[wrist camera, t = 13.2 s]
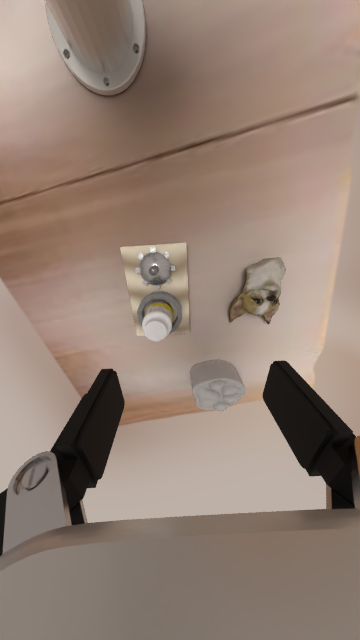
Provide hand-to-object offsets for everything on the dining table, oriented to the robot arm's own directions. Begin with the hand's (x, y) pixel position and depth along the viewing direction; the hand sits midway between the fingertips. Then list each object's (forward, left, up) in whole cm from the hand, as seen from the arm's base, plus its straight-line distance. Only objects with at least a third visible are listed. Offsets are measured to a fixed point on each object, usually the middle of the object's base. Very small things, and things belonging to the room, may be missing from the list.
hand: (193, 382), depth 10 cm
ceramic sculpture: (+2, +16, -29) cm, 33 cm away
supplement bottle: (+5, -5, -27) cm, 28 cm away
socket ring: (+5, -5, -27) cm, 28 cm away
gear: (-4, -5, -27) cm, 28 cm away
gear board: (+1, -5, -29) cm, 29 cm away
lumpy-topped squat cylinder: (+26, +8, -29) cm, 40 cm away
